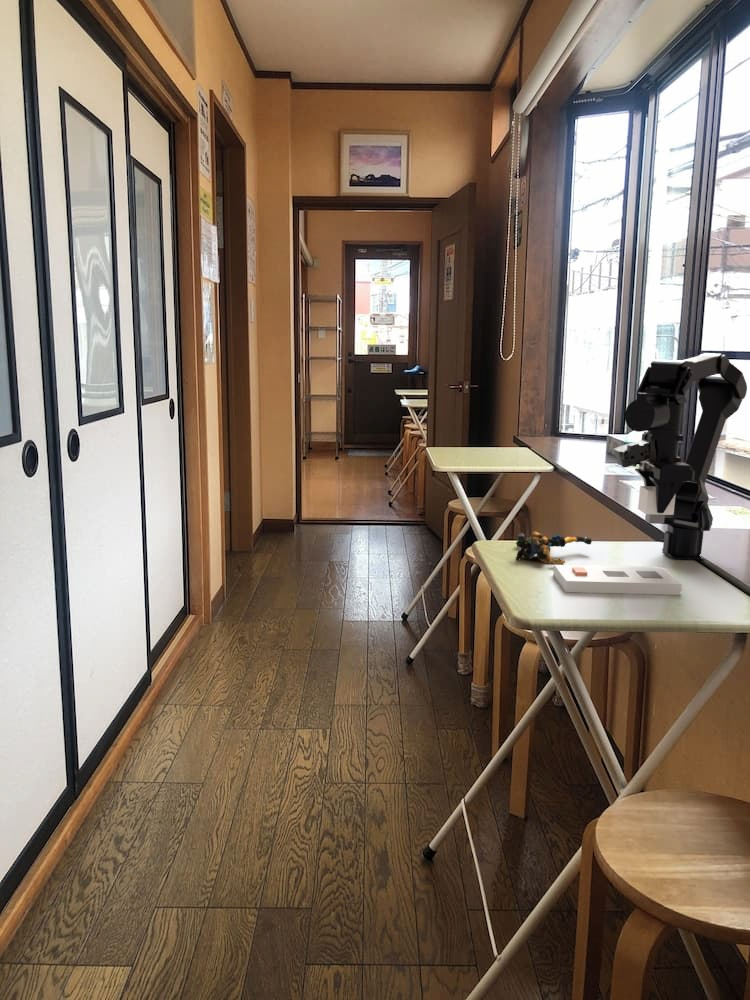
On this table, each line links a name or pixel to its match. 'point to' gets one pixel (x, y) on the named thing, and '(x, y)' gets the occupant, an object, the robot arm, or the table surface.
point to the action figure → (544, 546)
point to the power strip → (616, 579)
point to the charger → (653, 505)
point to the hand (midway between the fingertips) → (655, 510)
